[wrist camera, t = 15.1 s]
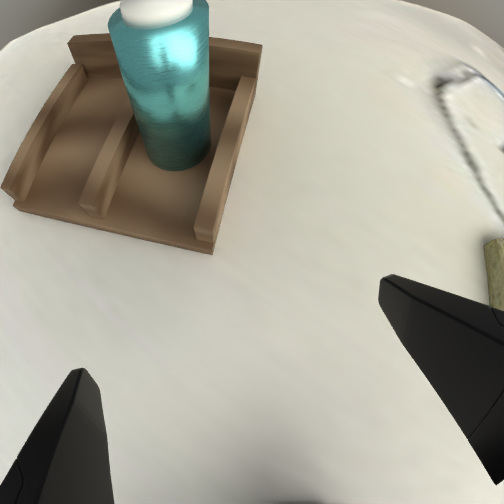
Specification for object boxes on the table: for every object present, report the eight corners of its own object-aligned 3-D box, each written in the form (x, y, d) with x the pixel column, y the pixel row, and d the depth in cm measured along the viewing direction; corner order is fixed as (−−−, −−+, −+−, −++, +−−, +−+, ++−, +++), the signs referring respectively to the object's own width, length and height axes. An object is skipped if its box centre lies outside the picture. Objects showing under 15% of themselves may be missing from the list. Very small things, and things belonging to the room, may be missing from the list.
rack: (212, 255, 23) (209, 223, 17) (19, 211, 23) (-19, 179, 17) (255, 94, 28) (262, 44, 22) (89, 77, 27) (73, 35, 21)
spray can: (165, 183, 23) (124, 35, 10) (136, 138, 24) (92, 1, 11) (223, 150, 24) (229, -1, 11) (190, 110, 25) (179, -30, 12)
